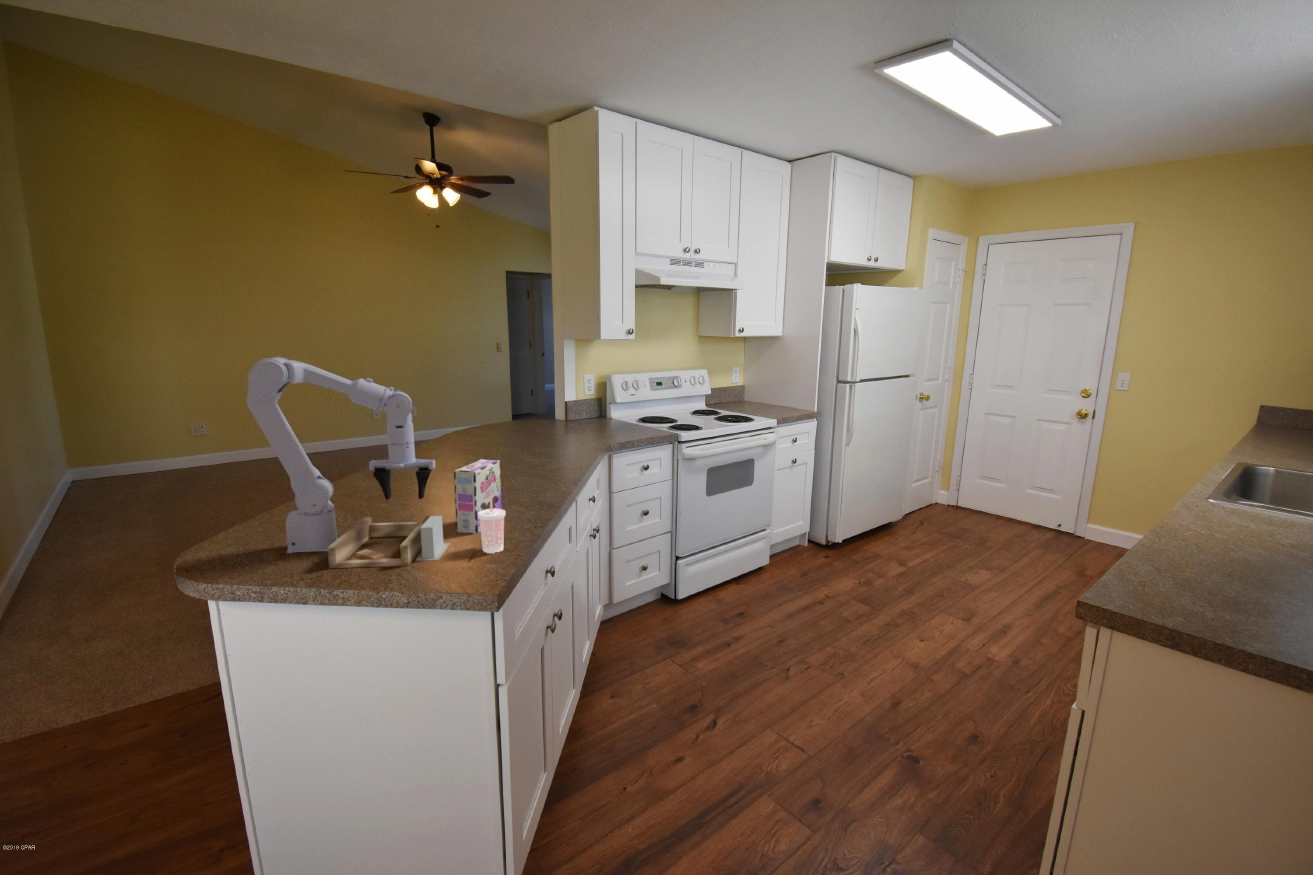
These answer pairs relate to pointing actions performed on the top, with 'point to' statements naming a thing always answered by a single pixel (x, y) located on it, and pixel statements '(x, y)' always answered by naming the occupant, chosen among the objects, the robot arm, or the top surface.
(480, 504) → the candy box
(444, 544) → the mat
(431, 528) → the panel
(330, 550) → the rack
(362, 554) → the offcut short
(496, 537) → the beverage cup
